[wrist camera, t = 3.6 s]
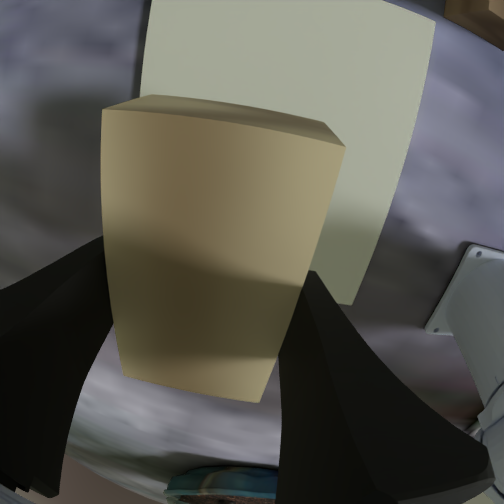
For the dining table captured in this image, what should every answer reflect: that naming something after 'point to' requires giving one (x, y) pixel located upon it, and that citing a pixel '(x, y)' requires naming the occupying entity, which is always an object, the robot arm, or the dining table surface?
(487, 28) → the walnut cube
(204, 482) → the bonsai tree
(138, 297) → the birch slab
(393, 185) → the board
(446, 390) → the dining table surface
